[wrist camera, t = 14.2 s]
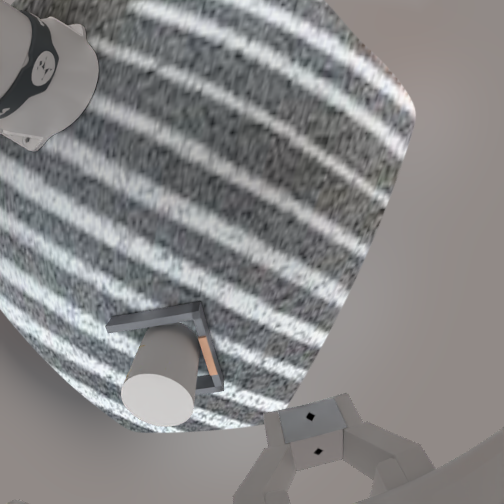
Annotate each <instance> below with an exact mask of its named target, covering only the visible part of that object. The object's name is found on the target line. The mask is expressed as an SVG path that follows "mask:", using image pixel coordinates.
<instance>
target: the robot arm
mask: <svg viewBox="0 0 504 504" xmlns="http://www.w3.org/2000/svg"><path fill="white" fill-rule="evenodd" d="M98 72H99V66H98V59H97V56H96V53H95V52H94V50H93V48H92V47H91V46H90V45H89V43H88V42H87V40H86V31H85V28H84V26H82V25H81V24H72V25H66V24H64V23H62V22H61V21H59V20H58V19H56V18H54V17H48V18H45V19H40V18H39V17H37V16H36V15H34V14H31V13H28V12H26V11H22V10H17V9H15V8H14V7H12V6H11V5H9V4H7V3H6V2H4V1H3V0H0V134H2V135H4V136H6V137H7V138H9V139H11V140H12V141H14V142H16V143H17V144H19V145H21V146H22V147H24V148H26V149H27V150H30V151H34V152H35V151H38V150H39V149H40V148H41V147H42V146H43V145H44V144H45V142H46V141H47V140H48V139H49V138H50V137H51V136H53V135H54V134H56V133H58V132H60V131H62V130H64V129H65V128H67V127H68V126H69V125H71V124H72V123H73V122H74V121H75V120H76V119H77V118H78V117H79V116H80V115H81V113H82V112H83V111H84V109H85V108H86V106H87V105H88V103H89V101H90V100H91V97H92V95H93V93H94V90H95V88H96V84H97V80H98ZM29 138H30V140H29V142H28V139H29ZM278 413H279V414H278ZM263 418H264V424H265V429H266V436H267V442H268V448H264V450H263V451H262V453H261V455H260V456H259V458H258V459H257V461H256V462H255V464H254V465H253V467H252V468H251V470H250V472H249V473H248V475H247V476H246V478H245V479H244V480H243V482H242V483H241V485H240V486H239V488H238V489H237V491H236V492H235V494H234V495H233V504H290V500H289V497H288V493H287V492H288V490H289V487H290V485H291V483H292V481H293V479H294V476H295V474H296V471H300V470H304V469H307V468H311V467H315V466H318V465H322V464H326V463H330V462H334V461H338V460H342V459H343V460H344V461H345V462H347V463H348V464H350V465H351V466H353V467H354V468H356V469H357V470H359V471H360V472H362V473H363V474H365V475H366V476H368V477H369V478H371V479H372V480H374V481H373V485H372V490H371V494H370V498H368V499H365V500H362V501H359V502H356V503H353V504H504V427H503V428H502V429H500V430H499V431H497V432H496V433H495V434H493V435H492V436H491V437H489V438H487V439H486V440H485V441H483V442H481V443H480V444H478V445H477V446H475V447H474V448H472V449H470V450H469V451H467V452H466V453H464V454H462V455H461V456H459V457H457V458H455V459H454V460H452V461H450V462H449V463H447V464H445V465H443V466H441V467H439V468H437V469H435V467H434V465H433V464H432V462H431V460H430V459H429V458H428V456H427V454H426V453H425V451H424V450H423V448H422V447H421V445H420V444H418V443H415V442H413V441H411V440H408V439H406V438H403V437H401V436H398V435H396V434H394V433H392V432H390V431H387V430H385V429H383V428H381V427H378V426H376V425H374V424H372V423H370V422H364V423H363V421H362V419H361V417H360V415H359V413H358V411H357V409H356V408H355V406H354V404H353V402H352V400H351V398H350V396H349V394H347V393H344V394H341V395H338V396H334V397H331V398H327V399H324V400H320V401H317V402H313V403H309V404H306V405H302V406H297V407H292V408H287V409H282V410H278V411H273V412H268V413H263ZM280 422H281V423H280ZM7 504H29V503H26V502H23V501H19V500H12V501H11V502H9V503H7Z"/></svg>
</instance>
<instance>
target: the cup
mask: <svg viewBox="0 0 504 504" xmlns="http://www.w3.org/2000/svg"><path fill="white" fill-rule="evenodd" d="M199 355H200V343H199V340H198V337H197V336H196V334H195V333H194V332H193V331H192V330H191V329H190V328H189V327H187V326H186V325H184V324H182V323H179V322H177V323H172V324H166V325H159V326H153V327H149V329H148V330H147V331H146V333H145V335H144V338H143V340H142V342H141V344H140V347H139V349H138V351H137V353H136V356H135V358H134V360H133V363H132V365H131V367H130V370H129V372H128V374H127V377H126V379H125V382H124V384H123V386H122V390H121V397H122V401H123V403H124V405H125V406H126V408H127V409H128V410H129V411H130V412H131V413H132V414H133V415H134V416H135V417H137V418H138V419H140V420H142V421H144V422H146V423H149V424H152V425H156V426H164V427H168V426H175V425H179V424H181V423H183V422H185V421H186V420H188V419H189V418H190V416H191V415H192V413H193V409H194V400H195V390H196V381H197V372H198V364H199Z"/></svg>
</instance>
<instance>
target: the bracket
mask: <svg viewBox="0 0 504 504" xmlns="http://www.w3.org/2000/svg"><path fill="white" fill-rule="evenodd" d="M189 320H193V321H194V324H195V327H196V331H197V334H198V340H199V343H200V346H201V349H202V352H203V355H204V358H205V361H206V364H207V367H208V370H209V373H210V375H208V376H201V377H197V381H196V390H195V395H199V394H207V393H213V392H220V391H224V378H223V375H222V371H221V368H220V365H219V362H218V358H217V355H216V352H215V349H214V345H213V342H212V339H211V335H210V332H209V328H208V325H207V321H206V318H205V314H204V311H203V307H202V304H201V301H199V302H193V303H188V304H183V305H177V306H172V307H166V308H160V309H155V310H149V311H143V312H137V313H131V314H125V315H119V316H113V317H112V318H111V319H110V321H109V322H108V324H107V325H106V326H105V327H106V329H107V332H108V333H113V332H120V331H127V330H134V329H140V328H147V327H153V326H159V325H166V324H172V323H177V322H183V321H189Z"/></svg>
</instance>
